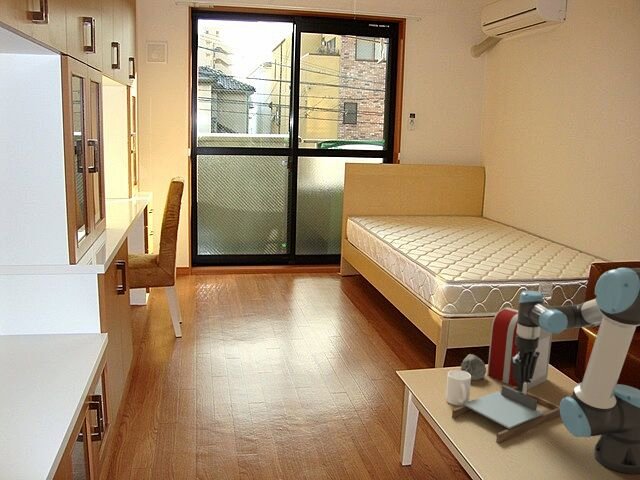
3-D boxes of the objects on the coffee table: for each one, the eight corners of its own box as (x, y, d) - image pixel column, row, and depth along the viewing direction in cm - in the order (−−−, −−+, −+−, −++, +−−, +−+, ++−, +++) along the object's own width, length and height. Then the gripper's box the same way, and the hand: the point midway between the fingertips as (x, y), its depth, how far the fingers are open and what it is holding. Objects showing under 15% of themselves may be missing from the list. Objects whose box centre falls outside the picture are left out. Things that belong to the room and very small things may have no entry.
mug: (475, 411, 221) (477, 384, 219) (452, 411, 221) (454, 384, 218) (465, 395, 233) (467, 369, 231) (443, 396, 232) (445, 369, 230)
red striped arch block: (525, 390, 239) (532, 323, 233) (485, 375, 251) (491, 311, 246) (548, 379, 249) (555, 314, 244) (508, 365, 262) (515, 303, 256)
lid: (543, 414, 213) (544, 403, 212) (509, 428, 203) (510, 416, 202) (497, 392, 229) (498, 381, 228) (463, 405, 218) (464, 393, 217)
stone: (479, 358, 243) (473, 347, 252) (458, 372, 244) (452, 362, 254) (493, 375, 244) (486, 364, 254) (472, 390, 246) (466, 379, 255)
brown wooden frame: (561, 415, 220) (562, 407, 219) (498, 443, 200) (499, 434, 200) (514, 393, 236) (515, 386, 235) (451, 417, 216) (452, 409, 216)
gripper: (530, 328, 223) (524, 390, 228) (506, 335, 215) (500, 399, 220) (548, 335, 217) (541, 398, 222) (524, 342, 209) (518, 407, 214)
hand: (521, 398), depth 221 cm, fingers closed
